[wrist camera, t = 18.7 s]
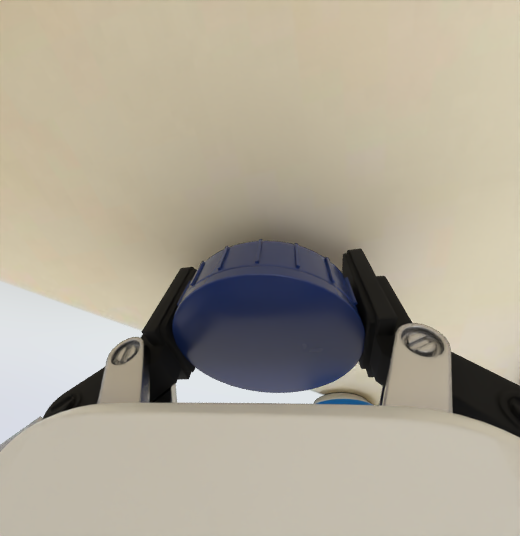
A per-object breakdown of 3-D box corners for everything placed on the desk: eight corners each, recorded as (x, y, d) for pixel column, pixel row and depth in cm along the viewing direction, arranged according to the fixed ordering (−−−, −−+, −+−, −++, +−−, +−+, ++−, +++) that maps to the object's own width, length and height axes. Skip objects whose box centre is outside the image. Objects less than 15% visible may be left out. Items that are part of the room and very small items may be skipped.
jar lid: (329, 362, 12) (335, 401, 10) (195, 346, 12) (182, 382, 10) (383, 250, 8) (408, 288, 6) (176, 228, 8) (150, 259, 6)
